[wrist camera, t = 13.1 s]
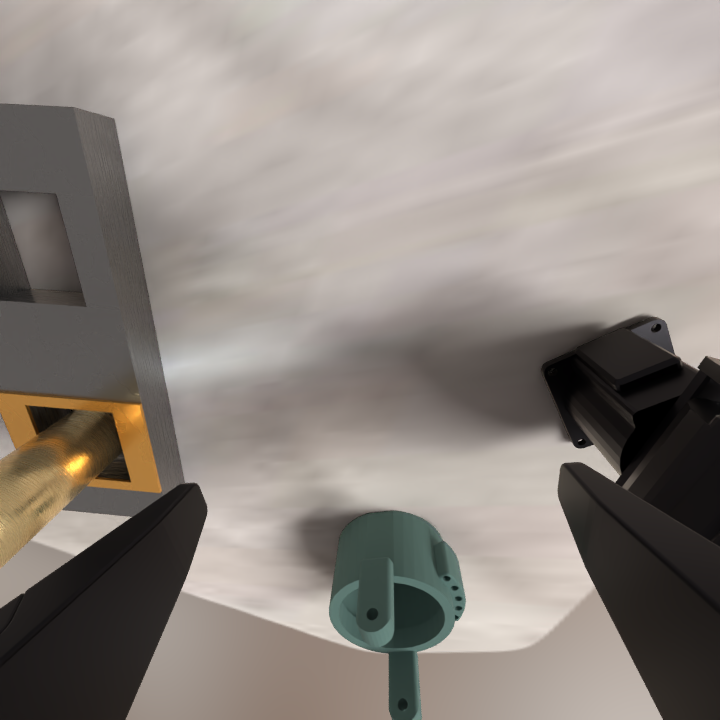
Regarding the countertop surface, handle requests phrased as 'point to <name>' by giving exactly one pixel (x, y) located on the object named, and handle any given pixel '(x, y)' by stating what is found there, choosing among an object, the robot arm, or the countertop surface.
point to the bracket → (396, 596)
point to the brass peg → (52, 474)
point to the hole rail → (83, 309)
